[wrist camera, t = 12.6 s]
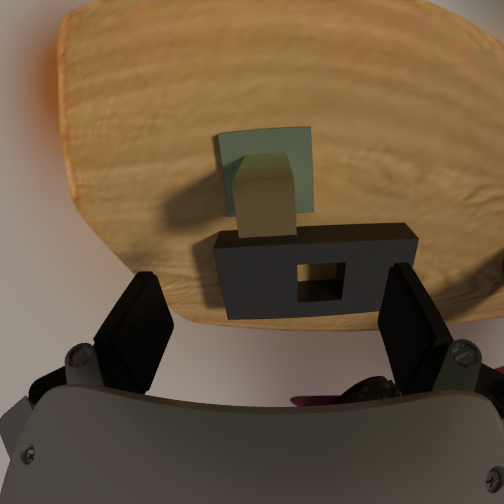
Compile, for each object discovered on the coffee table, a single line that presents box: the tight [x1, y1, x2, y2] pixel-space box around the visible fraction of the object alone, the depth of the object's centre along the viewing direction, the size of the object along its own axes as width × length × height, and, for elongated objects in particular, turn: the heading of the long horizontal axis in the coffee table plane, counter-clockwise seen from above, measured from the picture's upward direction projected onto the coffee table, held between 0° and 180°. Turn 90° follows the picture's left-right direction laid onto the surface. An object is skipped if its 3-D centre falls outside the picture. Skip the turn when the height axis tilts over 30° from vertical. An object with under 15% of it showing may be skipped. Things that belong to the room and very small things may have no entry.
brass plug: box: [232, 152, 297, 238], centre depth 22 cm, size 4×4×10 cm
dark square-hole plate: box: [213, 223, 419, 320], centre depth 31 cm, size 22×10×4 cm, turn 96°
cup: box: [334, 376, 401, 405], centre depth 44 cm, size 13×20×10 cm, turn 126°
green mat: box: [218, 127, 314, 217], centre depth 27 cm, size 9×9×1 cm
